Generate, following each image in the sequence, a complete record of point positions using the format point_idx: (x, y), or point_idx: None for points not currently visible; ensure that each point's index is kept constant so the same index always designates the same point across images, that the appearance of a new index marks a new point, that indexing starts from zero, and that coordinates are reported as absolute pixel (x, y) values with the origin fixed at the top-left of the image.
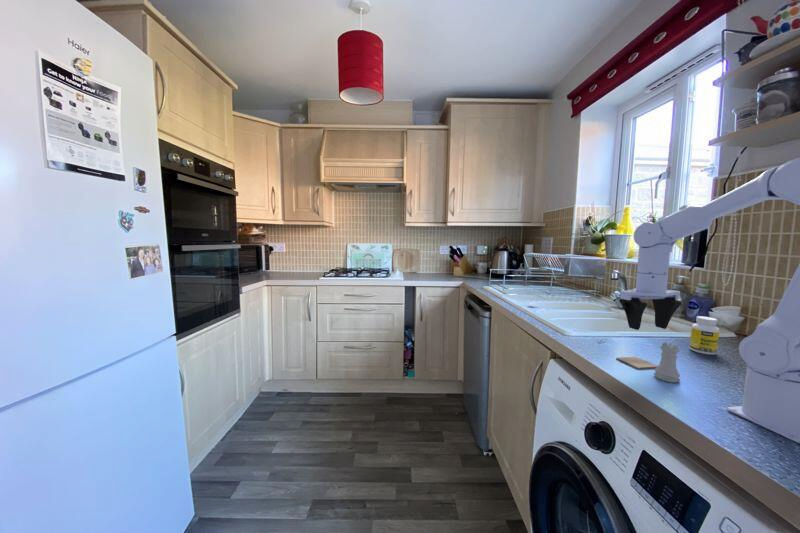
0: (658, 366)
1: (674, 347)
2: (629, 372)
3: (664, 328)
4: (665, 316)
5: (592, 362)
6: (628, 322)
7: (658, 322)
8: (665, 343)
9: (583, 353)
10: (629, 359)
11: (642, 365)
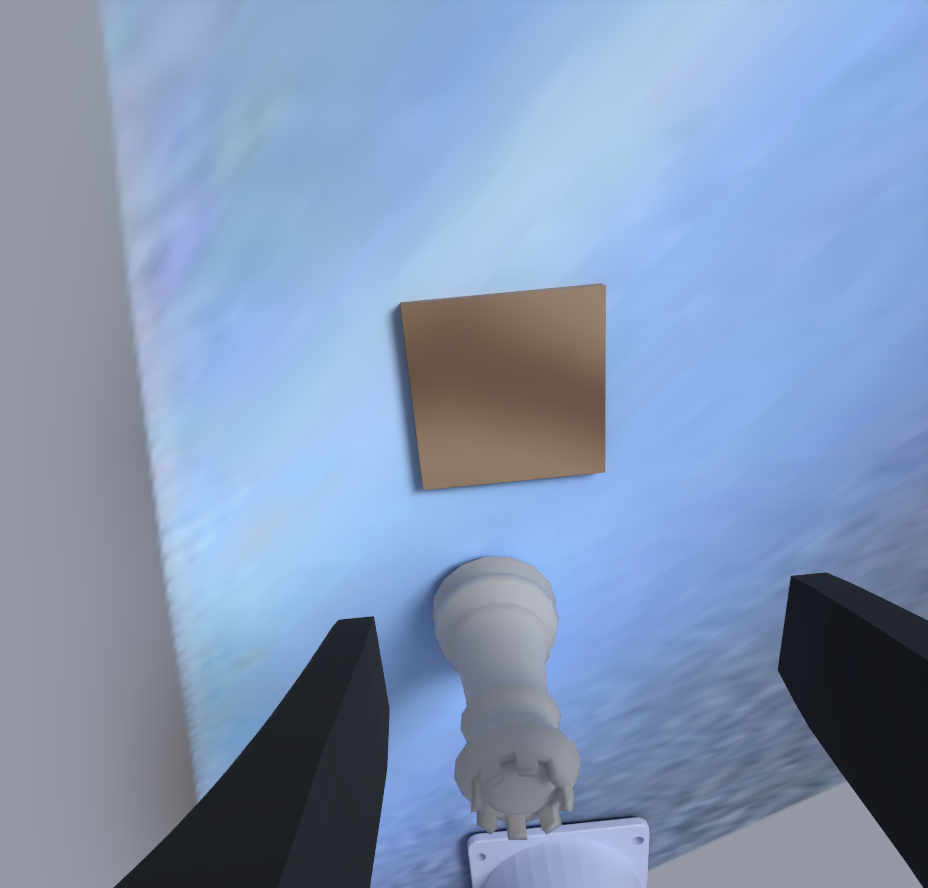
0: (458, 629)
1: (510, 834)
2: (324, 523)
3: (785, 675)
4: (913, 836)
5: (144, 359)
6: (311, 668)
7: (828, 654)
8: (520, 773)
9: (168, 146)
10: (486, 346)
11: (489, 458)
